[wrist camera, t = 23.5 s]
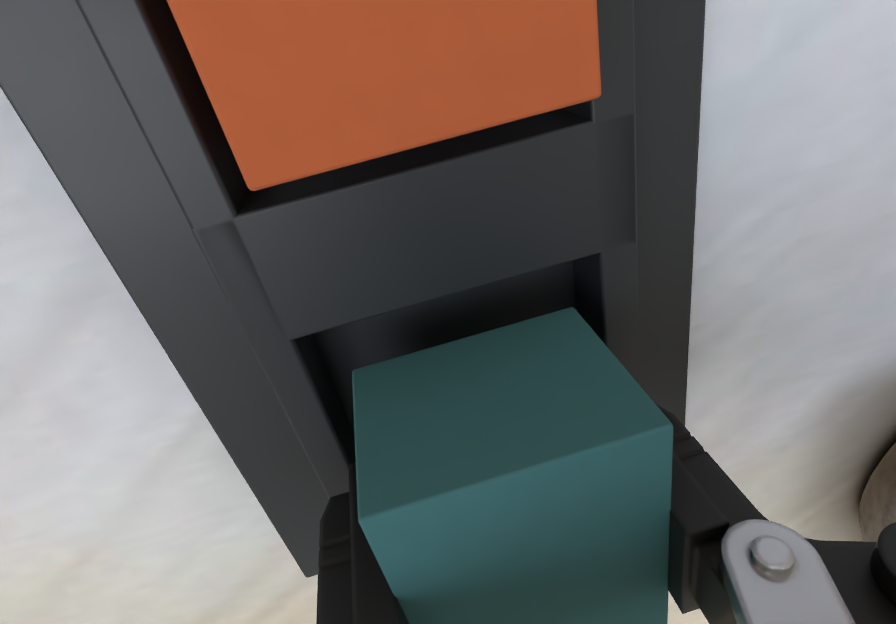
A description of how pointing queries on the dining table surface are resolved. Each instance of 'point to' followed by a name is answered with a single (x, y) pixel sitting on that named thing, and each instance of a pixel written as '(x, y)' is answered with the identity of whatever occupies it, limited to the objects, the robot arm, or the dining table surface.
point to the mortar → (879, 498)
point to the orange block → (380, 73)
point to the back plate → (365, 229)
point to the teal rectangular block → (515, 479)
